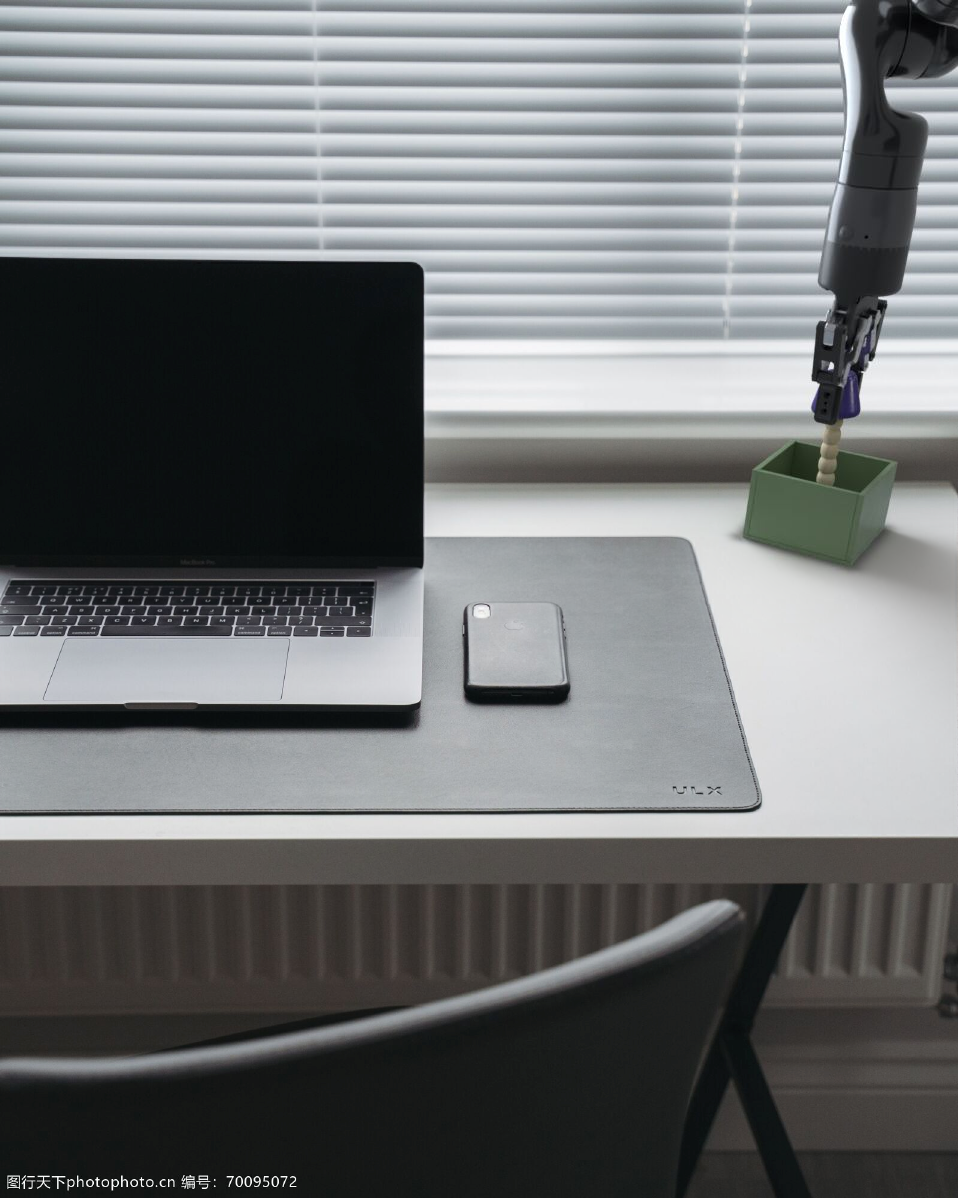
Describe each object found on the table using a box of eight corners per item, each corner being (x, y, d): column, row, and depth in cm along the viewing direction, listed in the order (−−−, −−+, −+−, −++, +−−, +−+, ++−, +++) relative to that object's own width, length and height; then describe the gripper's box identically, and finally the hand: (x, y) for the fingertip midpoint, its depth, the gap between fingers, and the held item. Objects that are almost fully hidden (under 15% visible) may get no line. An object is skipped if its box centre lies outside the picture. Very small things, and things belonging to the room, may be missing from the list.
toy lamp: (792, 536, 112) (820, 377, 105) (789, 518, 116) (815, 363, 109) (841, 540, 112) (872, 380, 104) (836, 522, 116) (865, 366, 108)
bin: (883, 529, 116) (898, 461, 112) (849, 567, 108) (864, 496, 104) (781, 504, 121) (792, 438, 118) (742, 538, 113) (752, 469, 110)
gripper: (885, 253, 93) (849, 443, 101) (930, 230, 104) (894, 404, 112) (800, 242, 97) (771, 426, 105) (851, 221, 107) (822, 390, 116)
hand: (835, 414), depth 108 cm, fingers open, 5 cm apart
